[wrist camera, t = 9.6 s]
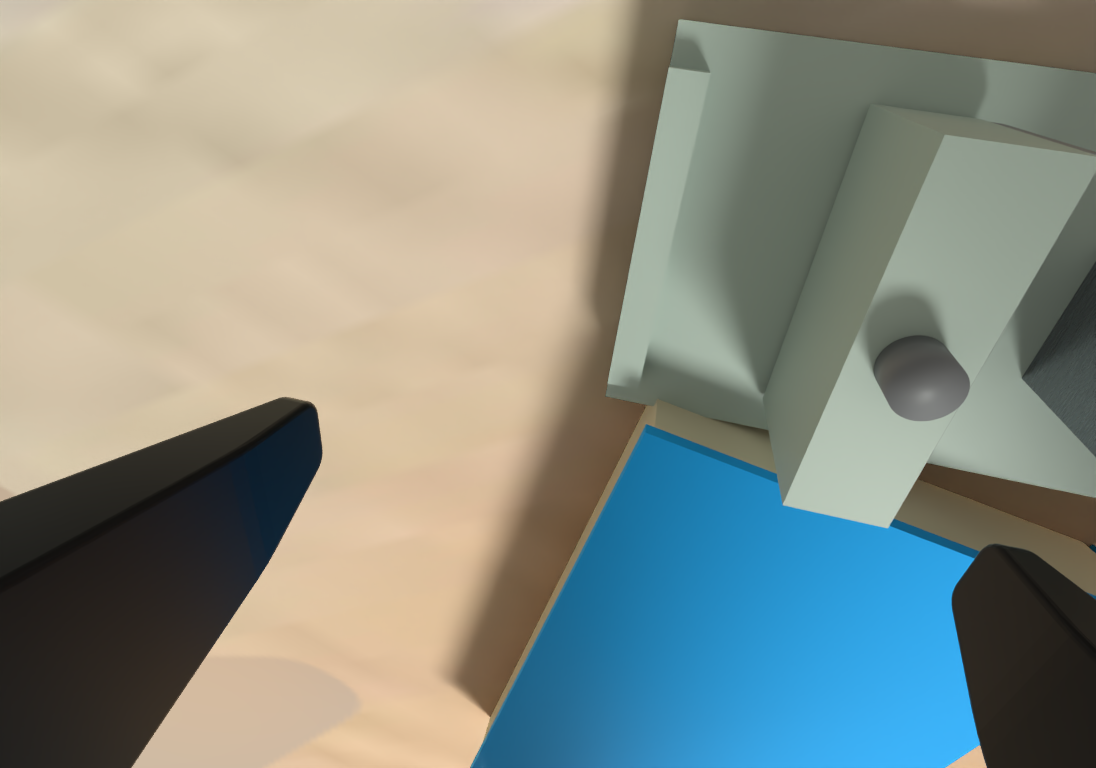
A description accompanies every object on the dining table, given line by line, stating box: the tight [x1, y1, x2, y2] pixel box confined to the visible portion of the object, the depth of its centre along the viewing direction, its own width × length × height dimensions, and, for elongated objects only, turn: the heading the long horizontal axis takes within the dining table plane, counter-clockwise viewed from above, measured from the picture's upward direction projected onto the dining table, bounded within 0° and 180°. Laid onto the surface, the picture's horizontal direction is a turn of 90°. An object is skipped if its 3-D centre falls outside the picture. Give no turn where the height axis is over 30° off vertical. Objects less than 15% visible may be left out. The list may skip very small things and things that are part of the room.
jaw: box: [763, 104, 1096, 528], centre depth 14 cm, size 3×9×6 cm, turn 174°
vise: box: [606, 19, 1096, 498], centre depth 15 cm, size 20×11×6 cm, turn 84°
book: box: [470, 399, 1096, 768], centre depth 26 cm, size 17×4×25 cm
